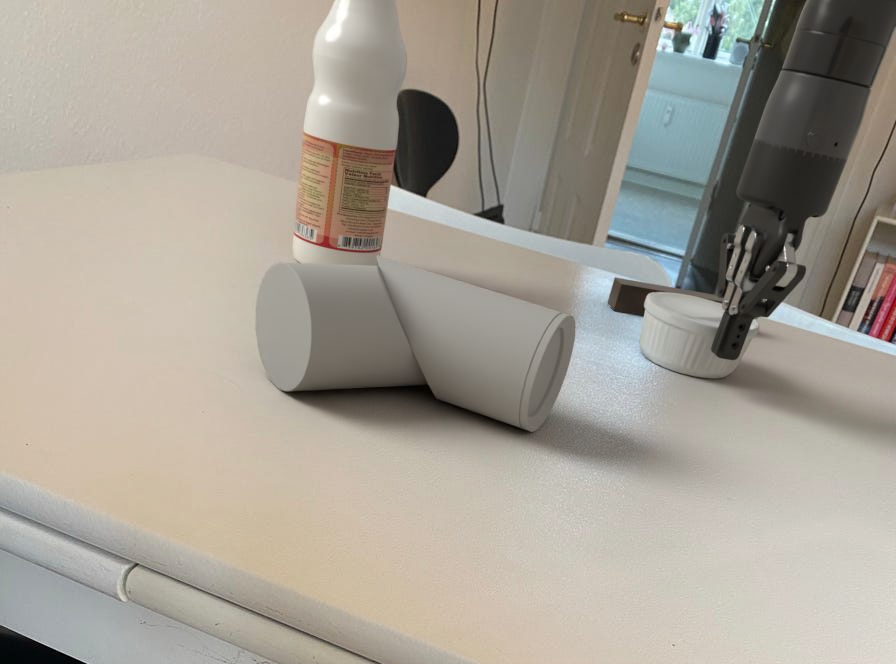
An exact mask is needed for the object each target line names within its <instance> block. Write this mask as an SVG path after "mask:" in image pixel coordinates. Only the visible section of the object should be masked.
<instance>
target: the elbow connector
mask: <svg viewBox="0 0 896 664" xmlns="http://www.w3.org/2000/svg"><path fill="white" fill-rule="evenodd" d="M377 261H378V264H379V265H378V266H366V265H339V264H313V263H300V262H282V261H280V262H275V263H274V264H272V265H270V267H269V268H268V269H267V270H266V271H265V273H264V275H263V276H262V278H261V282H260V285H259V288H258V292H257V296H256V302H255V315H254V317H255V318H254V319H255V325H254V326H255V338H256V344H257V350H258V354H259V357H260V360H261V364H262V366H263V369H264V372H265V373H266V376H267V377H268V379H269V381H270V382H271V383H272V384H273V385H274V386H275V387H276V388H277V389H279V390H280V391H283V392H304V391H320V390H321V391H325V390H327V391H328V390H343V389H344V390H345V389H346V390H347V389H363V388H364V389H366V388H385V387H389V388H390V387H407V386H409V387H410V386H426V385H428V386H429V389H430V390H431V392H432V394H433V395H434V397H435V398H436V399H437V400H440V401H442V402H444V403H448V404H451V405H454V406H457V407H458V408H459V407H460V408H462V409H464V410H468V411H470V412H474V413H476V414H479V415H482V416H485V417H488V418H491V419H494V420H496V421H499V422H501V423H504V424H507V425H511V426H513V427H516V428H519V429H522V430H525V431H528V432H530V433H533V432H536V431H537V430H539V428H540V427H541V426H542V425H543V424H544V422H545V421H546V420H547V418H548V417H549V414H550V413H551V411H552V410H553V407H554V406H555V404H556V401H557V400H558V396H559V394H560V391H561V389H562V387H563V384H564V383H565V382H564V381H565V379H566V376H567V373H568V370H569V366H570V362H571V360H572V355H573V352H574V351H573V350H574V347H575V346H574V345H575V340H576V320H575V317H574V316H573V315H572V314H569V313H565V312H562V311H559V310H556V309H552V308H549V307H546V306H543V305H540V304H536V303H533V302H529V301H526V300H523V299H521V298H516V297H514V296H511V295H507V294H504V293H500V292H497V291H495V290H490V289H488V288H484V287H481V286H478V285H474V284H471V283H468V282H465V281H461V280H458V279H455V278H452V277H448V276H445V275H442V274H439V273H435V272H432V271H429V270H426V269H422V268H419V267H416V266H413V265H409V264H406V263H403V262H400V261H397V260H394V259H391V258H387V257H384V256H382V255H380V256H377Z"/></svg>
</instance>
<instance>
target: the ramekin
mask: <svg viewBox="0 0 896 664" xmlns="http://www.w3.org/2000/svg"><path fill="white" fill-rule="evenodd" d="M644 307H645V313H644V316H643V319H642V325H641V331H640V335H639V336H640V337H639V348H640V349H641V350H640V351H641V353H642V355H643V356H644V357H645V358H646V359H647V360H649V361H650V362H652V363H653V364H656V365H658V366H661V367H663V368H664V369H668V370H670V371H672V372H676V373H678V374H682V375H686V376H690V377H695V378H702V379H713V380H714V379H721V378H725V377H727V376H728V375H730V374H732V373H733V372H734V371H735V369H736V368H737V367H738V365H739V363H740V362H741V360H742V358H744V357H743V356H744V355H745V353H746V351H747V349H748V347H749V345H750V344H751V342H752V340H753V339H755V338H756V337H757V335H758V334H759V333H758V332H759V330H760V323H759V322H758V321H757V319H754V320H753V321H752V324H751V326H750V329H749V332H748V334H747V337H746V339H745V342H744V345H743V347H742V350H741V353H740V355H739V357H738V358H737V359H736V360H728V359H722V358H718V357H717V356H716V355H715V354H714V353H713V352H712V351H711V347H712V344H713V341H714V338H715V336H716V333H717V330H718V327H719V324H720V322H721V319H722V316H723V313H724V311H725V310H723V309H722V304H721V303H718V302H714V301H711V300H707V299H703V298H699V297H695V296H690V295H685V294H678V293H669V292H652V293H649V294H648V295H647V297H646V299H645V303H644Z"/></svg>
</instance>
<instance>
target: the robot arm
mask: <svg viewBox="0 0 896 664" xmlns="http://www.w3.org/2000/svg"><path fill="white" fill-rule="evenodd" d="M895 32H896V0H806V1H805V3H804V5H803V8H802V10H801V12H800V15H799V18H798V20H797V24H796V26H795V30H794V33H793V35H792V39H791V41H790V45H789V47H788V50H787V53H786V56H785V57H784V58H785V59H784V61H783V64H782V68H781V69H782V70H780V71H779V75H778V78H777V80H776V82H775V84H774V86H773V88H772V90H771V92H770V94H769V97H768V99H767V101H766V103H765V106H764V109H763V111H762V115H761V118H760V120H759V123H758V125H757V126H758V127H757V130H756V132H755V136H754V138H753V141H752V144H751V147H750V150H749V152H748V156H747V159H746V162H745V164H744V167H743V170H742V173H741V176H740V178H739V181H738V185H737V187H736V190H735V191H736V192H735V193H736V196H737V197H738V198H739V199H740V200H742V201H744V202H746V203H749V204H748V206H747V209H746V210H745V212H744V213H743V216H742V217H741V219H740V223H739V226H738V228H737V231H736V232H735V233H729V232H725V233H723V235H722V236H721V240H720V249H719V262H718V263H719V265H718V279H717V294H716V295H717V296H718V297H719V298H724V299H723V303H722V309H723V310H725V311H724V313H723V316H722V319H721V322H720V324H719V327H718V330H717V333H716V336H715V338H714V341H713V344H712V347H711V351H712V352H713V353H714V354H715V355H716V356H717V357H718V358H722V359H728V360H736V359H737V358H738V357H739V355H740V353H741V350H742V347H743V345H744V342H745V339H746V337H747V334H748V332H749V329H750V326H751V324H752V321H753V320H754V319H755V320H757V319H759V318H765V319H766V318H769V317H770V316H771V315H772V314H773V313H774V312H775V311H776V310H777V308H778V307H779V306H780V305H781V304H782V303H783V302H784V300H786V298H787V297H788V296H789V295H790V294H791V293H792V292H793V291H794V289H795V288H796V287H797V286H798V285H799V284H800V283H801V281H803V279H804V277H806V276H805V275H806V272H807V266H806V265H804V264H798V263H797V260H796V252H797V250H798V249H799V248H800V246H801V244H802V240H803V235H804V230H805V226H806V221H808V219H810V218H821V217H823V216H825V214H826V213H827V212H828V210H829V208H830V204H831V202H832V200H833V197H834V194H835V192H836V190H837V187H838V185H839V182H840V181H841V177H842V174H843V172H844V169H845V167H846V164H847V163H848V162H847V161H848V160H849V157H850V154H851V152H852V149H853V148H854V145H855V142H856V140H857V137H858V135H859V132H860V130H861V127H862V124H863V122H864V118H865V115H866V111H867V107H868V103H869V100H870V96H871V94H872V88H874V86H875V84H876V81H877V78H878V76H879V73H880V70H881V68H882V66H883V63H884V61H885V58H886V55H887V53H888V50H889V47H890V45H891V42H892V39H893V37H894V35H895Z"/></svg>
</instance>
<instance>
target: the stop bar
mask: <svg viewBox="0 0 896 664" xmlns="http://www.w3.org/2000/svg"><path fill="white" fill-rule="evenodd" d="M652 292H669V293H678V294H685V295H690V296H695V297H699V298H703V299H707V300H711V301H714V302H718V303H721V304H722V303H723V299H724V298H719V297H718V296H717V294H713V293H706V292H701V291H694V290H689V289H683V288H678V287H672V286H667V285H661V284H655V283H650V282H645V281H638V280H634V279H633V280H632V279H628V278H621V277H614V278H613V282H612V285H611V289H610V292H609V296H608V299H607V303H608V304H609V305H610V306H611V307H610V306H609V305H608V304H607V303H606V304H607V305H608V306H609V307H610V308H611V310H612V311H613V312H619V313H626V314H630V315H637V316H642V317H644V313H645V307H644V303H645V299H646V297H647V295H648V294H649V293H652Z"/></svg>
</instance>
